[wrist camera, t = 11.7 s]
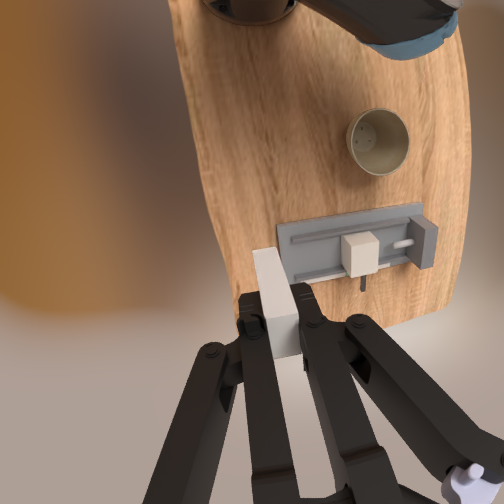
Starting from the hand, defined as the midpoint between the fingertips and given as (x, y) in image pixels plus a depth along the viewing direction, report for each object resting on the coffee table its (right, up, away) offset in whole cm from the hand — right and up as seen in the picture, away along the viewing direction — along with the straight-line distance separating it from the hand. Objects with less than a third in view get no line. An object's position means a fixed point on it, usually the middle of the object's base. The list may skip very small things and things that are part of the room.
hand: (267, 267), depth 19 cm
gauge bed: (+18, +3, +33) cm, 38 cm away
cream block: (+17, 0, +33) cm, 37 cm away
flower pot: (+17, +20, +25) cm, 36 cm away
